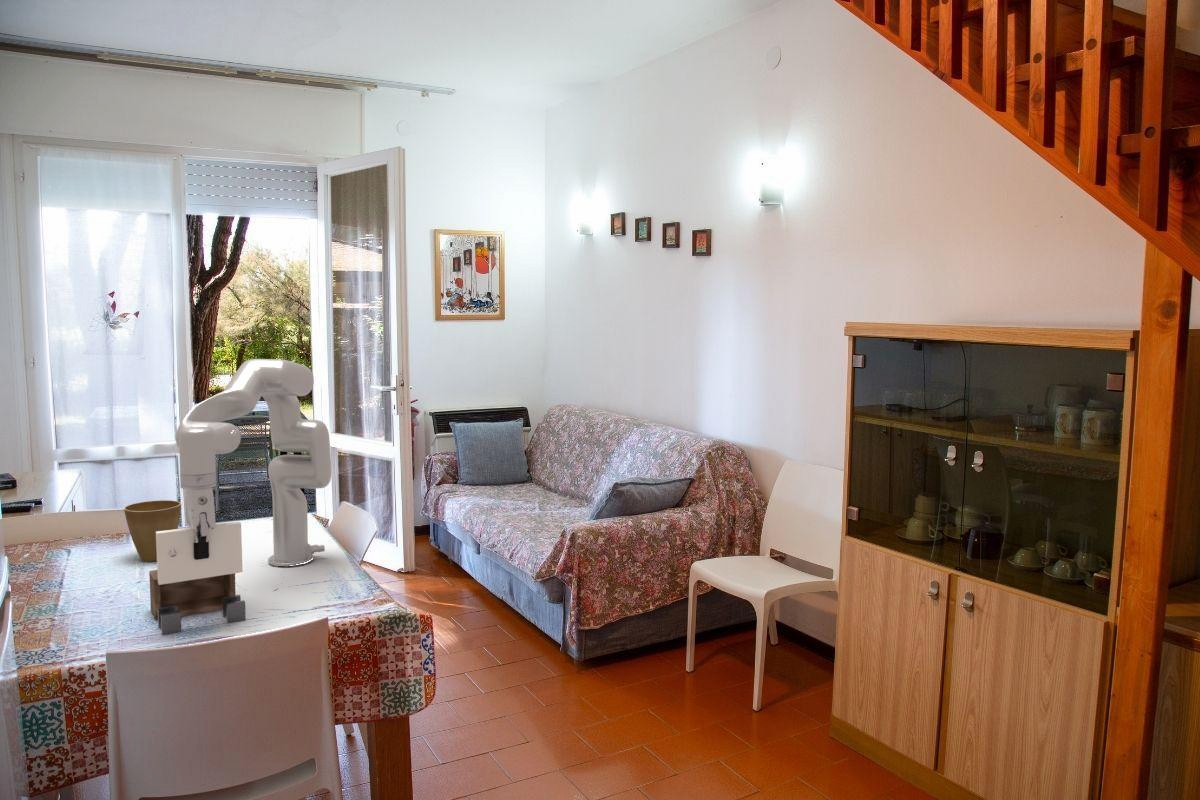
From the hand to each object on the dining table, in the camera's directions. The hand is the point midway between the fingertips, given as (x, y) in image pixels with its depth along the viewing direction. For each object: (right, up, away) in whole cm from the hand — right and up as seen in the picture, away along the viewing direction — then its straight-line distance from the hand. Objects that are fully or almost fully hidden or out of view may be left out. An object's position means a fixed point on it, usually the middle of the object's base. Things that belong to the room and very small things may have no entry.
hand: (200, 556), depth 202 cm
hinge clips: (0, -16, +2) cm, 16 cm away
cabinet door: (0, -5, 0) cm, 5 cm away
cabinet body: (-7, -15, +11) cm, 20 cm away
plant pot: (-37, -10, +52) cm, 65 cm away
